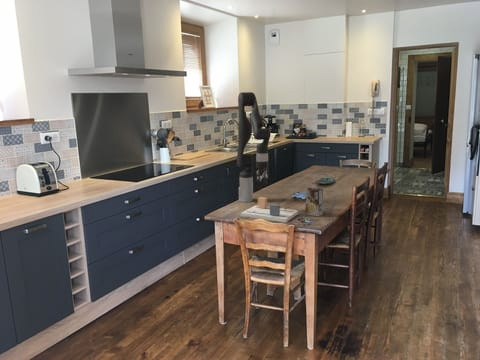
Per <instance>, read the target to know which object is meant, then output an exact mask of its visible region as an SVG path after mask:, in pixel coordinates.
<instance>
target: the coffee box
mask: <svg viewBox="0 0 480 360" xmlns="http://www.w3.org/2000/svg"><path fill="white" fill-rule="evenodd" d="M323 192H324V190H323V188H319V187H317V188H316V187H307V188H305V215H306V216H314V217H320V216H322V215H323V212H324V211H323V207H324V206H323V205H324V204H323V201H324V200H323V198H324V197H323V196H324V195H323V194H324V193H323Z"/></svg>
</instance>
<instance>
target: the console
mask: <svg viewBox="0 0 480 360" xmlns="http://www.w3.org/2000/svg"><path fill="white" fill-rule="evenodd" d="M299 213H300V212H299V210H296V209H287V208H282V207H280V215H278V216H275V215H270V206H267V207H266V208H259V207H258V204H257V205H253V206H252V207H250V208H248V209H246V210H244V211H242V212H241V213H240V217H247V218H251V219H252V218H253V219H260V220H268V221H273V222H275V221H276V222H280V223H281V222H282V223H287V222H289V221H291V220H292V219H293V218H295V217H296V216H297V215H299Z"/></svg>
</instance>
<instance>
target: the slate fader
mask: <svg viewBox="0 0 480 360" xmlns="http://www.w3.org/2000/svg"><path fill="white" fill-rule="evenodd" d="M269 207H270V215H275V216H278V215H280V208H281V205H280V204H277V203H271V204H270V205H269Z"/></svg>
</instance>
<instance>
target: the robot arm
mask: <svg viewBox="0 0 480 360" xmlns="http://www.w3.org/2000/svg"><path fill="white" fill-rule="evenodd" d="M237 97H238V98H237V101H238V102H237V103H238V104H237V108H238V128H237V129H238V130H237V131H238V132H237V136H238V137H237V138H238V139H237V143H238V145H237V155H236V164H237V167H239V168H245V170H243V171H241V172H240V173H239V187H238V201H239V202H242V203H249V202H250V203H251V202H253V201H254V178H253V177H254V176H253V175H254V156H253V154H252V153H244V152H245V148H246V147H247V145H248V143H249V141H250V140H251V139H252V134H253V138H254V139H255V140H256V141H262V142H260V143H257V144H256V156H255V157H256V159H255V166H256V169H258V170H255V181H256V182H257V188H261V187H262V179H263V185H267V184H268V178H269V177H270V169H269V148H268V146H269V142H270V139H271V135H272V134H271V130H270V129H269V128H267V127H264V120H263V119H262V117H261V114H260V110H259V105H258V100H257V97H256V95H255V93H254V92H252V91H247V92H246V91H243V92H240V93H238V96H237ZM245 107H251V108H252V110H251V113H250V116H249V118H248V116H247V114H246V110H245Z"/></svg>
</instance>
